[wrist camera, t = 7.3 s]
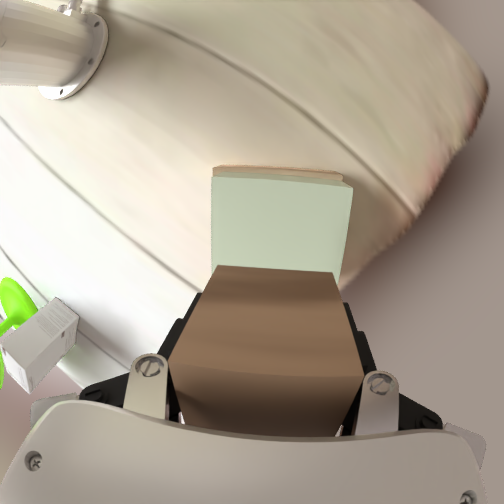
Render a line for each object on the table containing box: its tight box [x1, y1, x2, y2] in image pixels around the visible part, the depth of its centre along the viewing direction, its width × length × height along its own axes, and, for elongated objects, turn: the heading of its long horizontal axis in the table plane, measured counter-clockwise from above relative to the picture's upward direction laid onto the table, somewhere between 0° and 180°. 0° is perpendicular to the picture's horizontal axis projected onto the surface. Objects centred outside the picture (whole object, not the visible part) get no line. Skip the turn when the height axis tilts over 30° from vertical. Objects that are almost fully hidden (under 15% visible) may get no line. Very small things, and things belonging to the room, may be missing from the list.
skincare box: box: [0, 297, 79, 394], centre depth 30 cm, size 8×6×15 cm
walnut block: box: [168, 265, 364, 437], centre depth 10 cm, size 5×5×6 cm
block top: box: [211, 172, 353, 285], centre depth 22 cm, size 10×10×4 cm
